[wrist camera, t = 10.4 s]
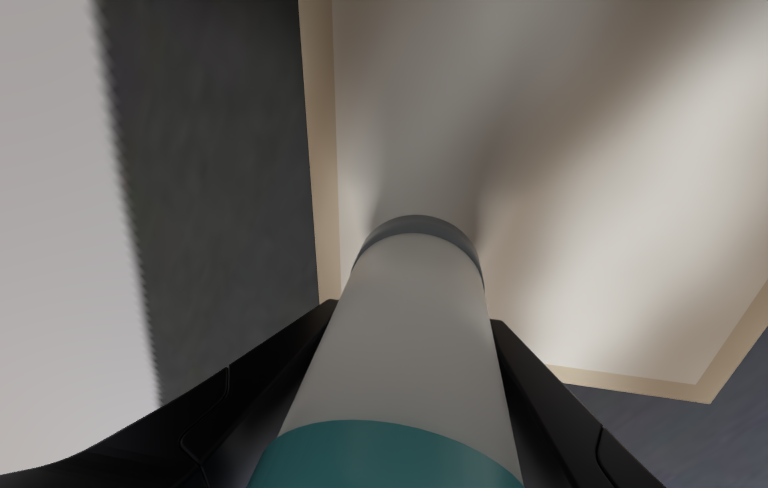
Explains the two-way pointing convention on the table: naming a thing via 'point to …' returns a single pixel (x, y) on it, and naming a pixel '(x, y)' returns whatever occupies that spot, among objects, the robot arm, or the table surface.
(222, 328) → the table surface
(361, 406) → the cylinder
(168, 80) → the table surface
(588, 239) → the picture frame
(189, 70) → the table surface
